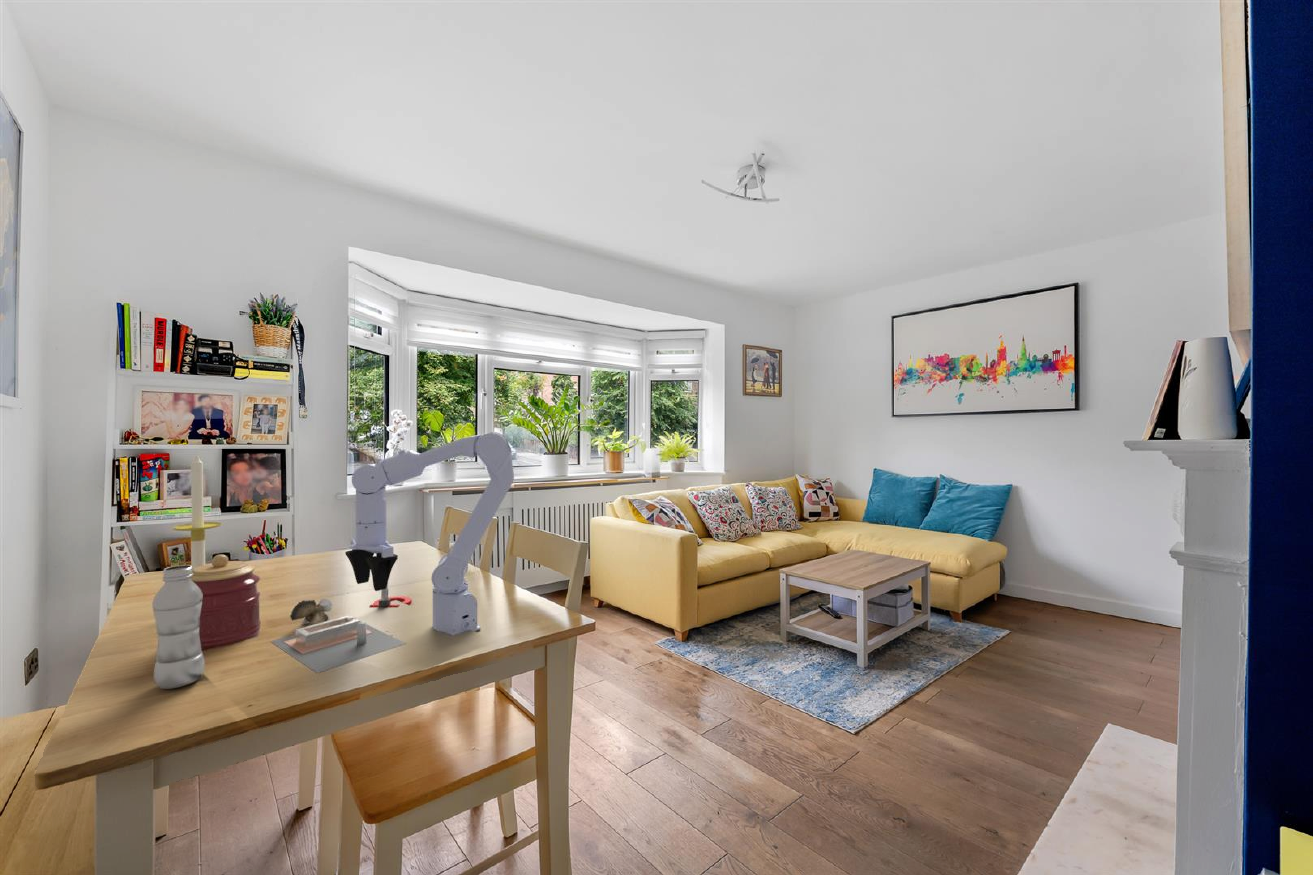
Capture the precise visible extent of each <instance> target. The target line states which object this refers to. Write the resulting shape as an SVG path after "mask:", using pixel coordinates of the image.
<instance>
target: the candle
mask: <svg viewBox="0 0 1313 875" xmlns="http://www.w3.org/2000/svg"><path fill="white" fill-rule="evenodd" d="M190 484H191V485H190V488H191V490H190V491H191V493H190V494H191V495H190V496H191V497H190V498H191V499H190V500H191V504H190V505H191V523H183V524H179V525H176V526H173V530H174V531H178V532H179V531H181V532H182V531H183V532H184V531H185V532H186V531H187V532H189V531H190V565H192V570H193V569H194V568H196V567H198V566H201V565H205V564H206V530H209V529H210V530H211V529H214V528H217V527H218V528H219V527H220V526H221V525H222V522H220V521H219V522H218V521H204V518H205V516H204V512H205V511H204V462H203V461H202V460H201V459H200V456H199V454H198V452H196V454H195V455H194V458H193V460H192V462H190Z"/></svg>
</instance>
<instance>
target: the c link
mask: <svg viewBox="0 0 1313 875" xmlns="http://www.w3.org/2000/svg"><path fill="white" fill-rule="evenodd" d="M360 621H361V620H360V619H357V618H355V619H354V617H353V616H352V615H345V616H341V617H337V618H333V619H330V620H328V621H326V622H322V623H318V624H314V625H311V626H307V625H306V626H303V627H300V628H296V629H295V635H296V642H297V643H298V644H300V645H301V646H303V647H304V648H310V647H313V646H316V645H320V644H323V643H327V642H330V641H333V640H337V639H340V638H344V637H347V636H350V635H354V634H357V623H359V622H360Z"/></svg>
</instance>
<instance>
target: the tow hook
mask: <svg viewBox="0 0 1313 875" xmlns="http://www.w3.org/2000/svg"><path fill="white" fill-rule="evenodd" d="M388 586H389V583H388V584H387V587H386V589H383V590H380V592H381V594H380V596H381V597H380V598H379V599H377V600H375V601H374V602H373V603H372V604H369V608H379V609H380V608H386V609H387V608H399V607H400V604H391V602H393V601H397V602H401V603H402V604H405V605H408V606H409V605H411V604H412V602H413V601H412V600H413V599H412V598H411V597H408V596H398V595H397V596H389V587H388Z"/></svg>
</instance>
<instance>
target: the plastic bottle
mask: <svg viewBox="0 0 1313 875" xmlns="http://www.w3.org/2000/svg"><path fill="white" fill-rule="evenodd" d="M162 572H163V575H162V582H164V584H163V585H162V586H161V587H160V589H159V590H158V591H157V593H155V595H154V597H153V600H152V602H151V605H152V612H153V616H154V622H155V624H156V634H157V636H156V637H157V649H156V650H157V652H156V661H155V664H154V669H153V670H154V671H153V676H152V677H153V680H154V684H155V686H158V688H159V689H161V690H162V689H163V690H168V689H169V690H170V689H171V690H172V689H175V688H176V689H177V688H181V687H184V686H187V685H190V684H192V683H193V684H194V682H196V681H198V680H199V679H200V678H201V677H202V675H203V673H204V672H205V666H206V661H205V656H204V653H203V651H201V643H200V635H199V626H200V613H201V607H202V600H203V594H202V591H201V589H200V588H199V587H198V586H197V585H196V584H195V583H194V582H193V581H191V577H193V573H192V565H191V564H181V565H180V564H179V565H174V566H168V567H166V568H164V569H163V571H162Z"/></svg>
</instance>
